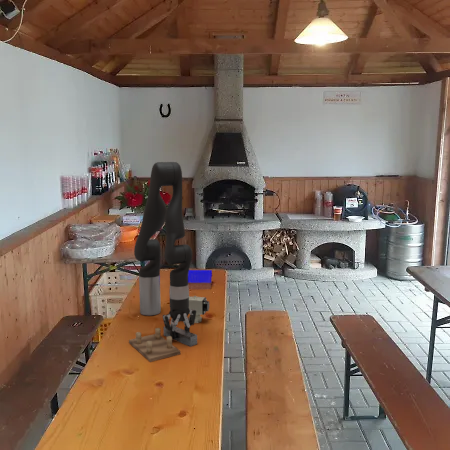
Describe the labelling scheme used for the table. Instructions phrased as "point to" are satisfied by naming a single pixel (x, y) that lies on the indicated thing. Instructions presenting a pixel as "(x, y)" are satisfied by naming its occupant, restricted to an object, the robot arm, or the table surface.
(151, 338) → the cradle
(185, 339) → the bar
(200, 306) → the pneumatic valve
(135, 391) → the table surface
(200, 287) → the house
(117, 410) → the table surface
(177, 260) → the robot arm
